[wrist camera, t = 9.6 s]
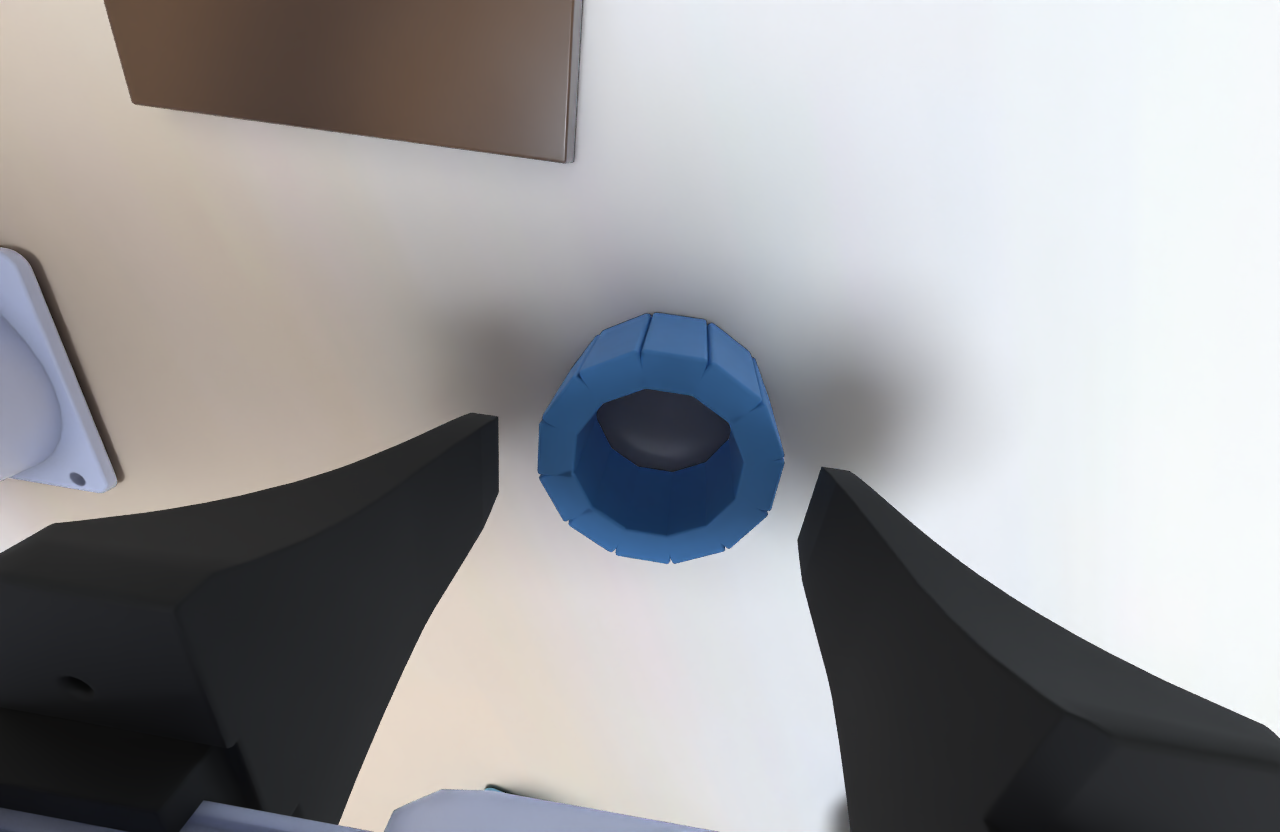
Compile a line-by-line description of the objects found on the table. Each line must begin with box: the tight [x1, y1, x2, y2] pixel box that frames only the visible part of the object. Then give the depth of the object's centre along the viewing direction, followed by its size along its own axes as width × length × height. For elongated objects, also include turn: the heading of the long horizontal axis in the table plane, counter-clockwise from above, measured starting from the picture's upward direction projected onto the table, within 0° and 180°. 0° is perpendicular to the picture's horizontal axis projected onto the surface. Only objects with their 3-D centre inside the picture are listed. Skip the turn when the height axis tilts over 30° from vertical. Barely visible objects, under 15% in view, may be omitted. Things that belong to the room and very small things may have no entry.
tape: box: [537, 313, 784, 564], centre depth 13 cm, size 6×6×3 cm
